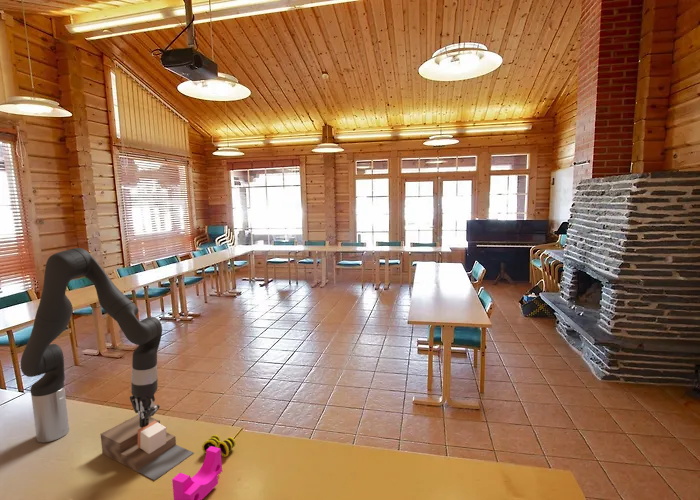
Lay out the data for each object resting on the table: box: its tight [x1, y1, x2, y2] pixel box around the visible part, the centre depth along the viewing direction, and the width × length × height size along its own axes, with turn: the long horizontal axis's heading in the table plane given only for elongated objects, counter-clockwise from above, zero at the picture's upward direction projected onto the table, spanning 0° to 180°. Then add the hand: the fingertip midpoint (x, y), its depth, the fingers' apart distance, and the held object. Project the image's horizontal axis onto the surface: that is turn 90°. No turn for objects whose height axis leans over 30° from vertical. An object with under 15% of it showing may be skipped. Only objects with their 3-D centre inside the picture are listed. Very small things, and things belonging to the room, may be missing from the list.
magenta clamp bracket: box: [171, 446, 223, 500], centre depth 107 cm, size 15×6×8 cm, turn 159°
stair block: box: [100, 414, 195, 482], centre depth 122 cm, size 28×14×7 cm, turn 62°
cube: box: [138, 421, 167, 454], centre depth 121 cm, size 6×6×6 cm
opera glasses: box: [201, 434, 236, 458], centre depth 123 cm, size 10×5×5 cm, turn 77°
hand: (144, 426), depth 122 cm, fingers closed
